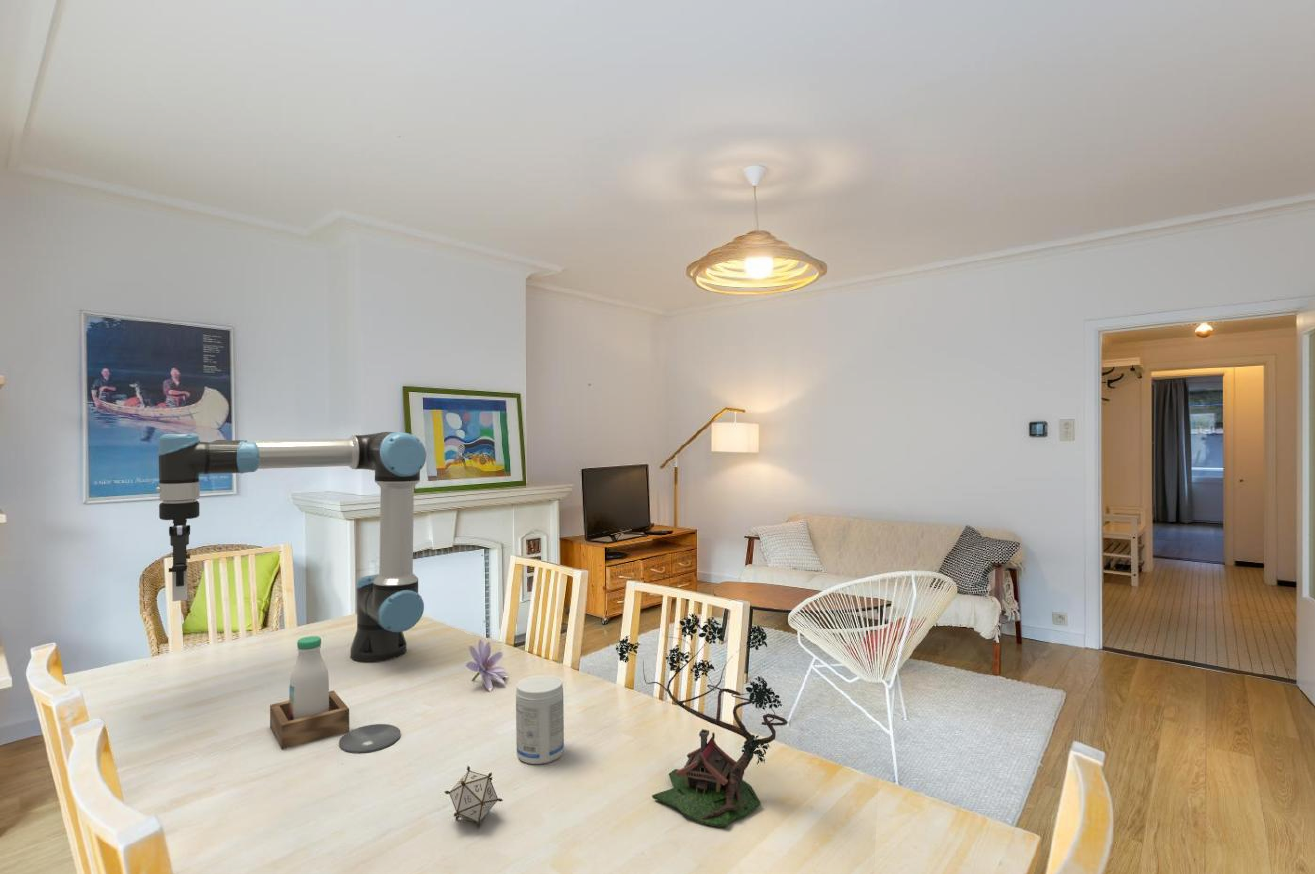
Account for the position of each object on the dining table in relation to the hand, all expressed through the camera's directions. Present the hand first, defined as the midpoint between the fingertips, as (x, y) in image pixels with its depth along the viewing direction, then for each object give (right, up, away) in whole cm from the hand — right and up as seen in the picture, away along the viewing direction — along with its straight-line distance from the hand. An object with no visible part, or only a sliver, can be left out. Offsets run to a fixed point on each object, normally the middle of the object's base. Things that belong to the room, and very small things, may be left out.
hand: (180, 593), depth 154 cm
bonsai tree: (+116, -29, -28) cm, 123 cm away
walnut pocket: (+33, -28, -7) cm, 44 cm away
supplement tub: (+85, -29, -17) cm, 92 cm away
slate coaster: (+48, -28, -11) cm, 57 cm away
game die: (+78, -29, -40) cm, 92 cm away
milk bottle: (+33, -28, -7) cm, 44 cm away
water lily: (+66, -28, +20) cm, 74 cm away
